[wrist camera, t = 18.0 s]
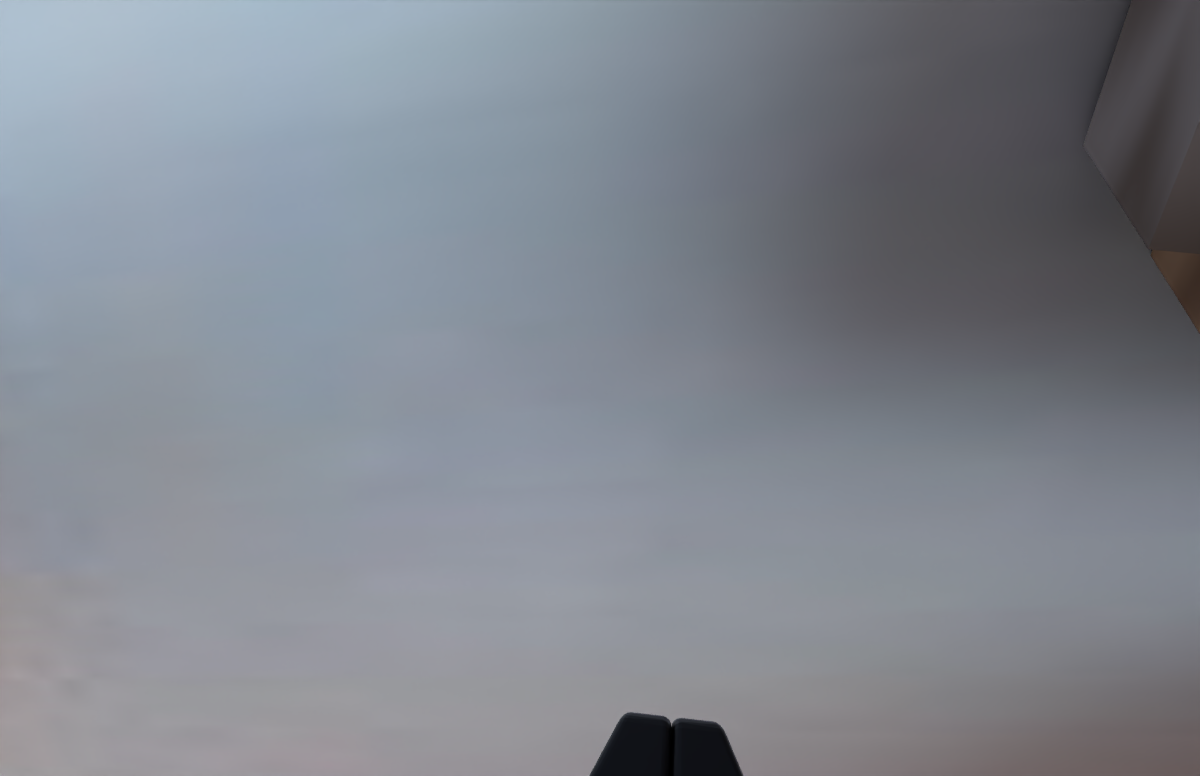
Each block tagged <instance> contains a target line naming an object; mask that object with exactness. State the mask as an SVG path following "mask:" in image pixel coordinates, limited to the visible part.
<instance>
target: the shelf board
mask: <svg viewBox="0 0 1200 776" xmlns="http://www.w3.org/2000/svg"><path fill="white" fill-rule="evenodd" d="M1083 147H1084V148H1085V150H1086V151H1087V153H1088V155H1089V156H1090V158H1091V159H1092V161H1093V162H1094V164H1095V166H1096V167H1097V169H1098V170H1099V172H1100V174H1101V175H1102V177H1103V178H1104V180H1105V181H1106V183H1107V185H1108V186H1109V188H1110V189H1111V191H1112V193H1113V194H1114V196H1115V197H1116V199H1117V200H1118V202H1119V204H1120V205H1121V207H1122V208H1123V210H1124V212H1125V213H1126V215H1127V216H1128V218H1129V219H1130V221H1131V223H1132V224H1133V226H1134V227H1135V229H1136V231H1137V232H1138V234H1139V235H1140V237H1141V238H1142V240H1143V242H1144V243H1145V245H1146V246H1147V248H1148V249H1151V250H1161V251H1172V252H1182V253H1193V254H1200V0H1132V1H1131V4H1130V7H1129V9H1128V12H1127V15H1126V18H1125V21H1124V24H1123V27H1122V30H1121V33H1120V36H1119V39H1118V42H1117V45H1116V48H1115V51H1114V54H1113V57H1112V60H1111V63H1110V66H1109V69H1108V72H1107V75H1106V78H1105V81H1104V84H1103V87H1102V90H1101V93H1100V96H1099V99H1098V102H1097V105H1096V108H1095V111H1094V114H1093V117H1092V120H1091V123H1090V126H1089V129H1088V132H1087V135H1086V138H1085V141H1084V143H1083Z"/></svg>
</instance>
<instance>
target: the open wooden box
mask: <svg viewBox="0 0 1200 776" xmlns="http://www.w3.org/2000/svg"><path fill="white" fill-rule="evenodd" d="M1151 257H1152V259H1153V260H1154V262H1155V263H1156V265H1157V266H1158V268H1159V270H1160V271H1161V273H1162V274H1163V276H1164V278H1165V279H1166V281H1167V282H1168V284H1169V286H1170V287H1171V289H1172V290H1173V292H1174V294H1175V295H1176V297H1177V298H1178V300H1179V301H1180V303H1181V305H1182V306H1183V308H1184V309H1185V311H1186V313H1187V314H1188V316H1189V317H1190V319H1191V321H1192V322H1193V324H1194V325H1195V327H1196V329H1197V330H1198V332H1199V333H1200V254H1193V253H1182V252H1172V251H1161V250H1152V252H1151Z"/></svg>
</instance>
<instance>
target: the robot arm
mask: <svg viewBox="0 0 1200 776" xmlns="http://www.w3.org/2000/svg"><path fill="white" fill-rule="evenodd" d="M590 776H743V774H742V771H741V769H740V767H739V764H738V762H737V759H736V757H735V755H734V752H733V750H732V747H731V745H730V743H729V740H728V738H727V735H726V733H725V731H724V730H723V728H722V727H721V726H720V725H719V724H718V723H716V722H711V721H703V720H694V719H685V718H678V719H676V720H675V721H674V722H673V723H672V727H671V723H670V721H669V719H667V718H666V717H664V716H659V715H650V714H641V713H632V712H630V713H626V714H624V715H623V716H622V717H621V719H620V720H619V722H618V724H617V725H616V727H615V729H614V731H613V733H612V735H611V737H610V738H609V740H608V742H607V744H606V746H605V748H604V750H603V751H602V753H601V755H600V757H599V759H598V761H597V763H596V765H595V766H594V768H593V770H592V772H591V774H590Z"/></svg>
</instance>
